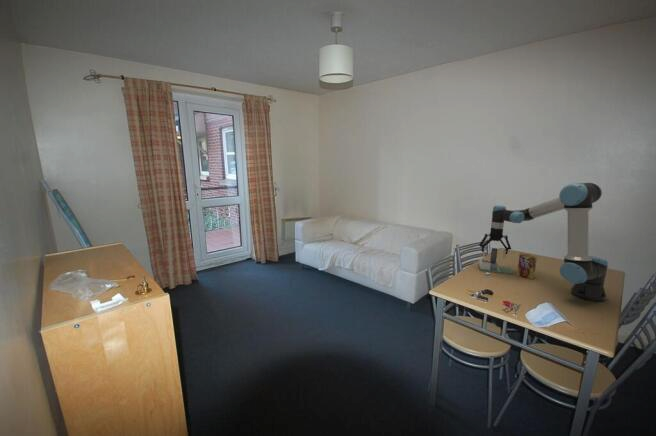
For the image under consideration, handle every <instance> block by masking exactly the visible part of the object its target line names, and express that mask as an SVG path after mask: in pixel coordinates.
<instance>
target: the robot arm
mask: <svg viewBox="0 0 656 436" xmlns="http://www.w3.org/2000/svg"><path fill="white" fill-rule="evenodd" d="M602 195H603V192H602V189H601V187H600V186H599V185H597V184H595V183H592V182H575V183H569V184H567V185H565V186H563V188H561V190H560V191H559V197H556V198H554V199H550V200H548V201H544V202H541V203H539V204H537V205H534V206H531V207H528V208H525V209H519V210H510V209H509V210H508V209H507V207H506V206H505V205H500V204H499V205H493V208H492V212H491V215H492V216H491V223H490V233H485V234H484V237H483V238H482V240H481V242H480V243H479V247H480V248H481V252H482V257H483V258H485V253H486V246H487V245H489V243H491V242H492V241H493V242H499V243H501V245H502V246H503V247H504V249H503V255H502V258H503V260H505V259H506V255H508V252H509V250H511V249H512V246H511V244H510V241H509V239H508V235H507V234H505V235H504V234H503V233H504V226H505V222H509V223H513V224H521V223H522V222H526V221H527V222H529V221H532V220H535V219H537V218H540V217H543V216H546V215H550V214H552V213H557V212H560V211H562V210H565V211H566V212H567V254H566V255H565V256H564V257H563V263H562V264H561V265H560V267H559V275H560V276H561V277H562V278H563V279H564V281H566V282H568V283H570V284H573V285H572V286H571V288H570V293H571V295H574V296H575V297H577V298H580V299H583V300H587V301H591V302H601V303H602V302H605V301H606V298H607V294H606V291H605V282H606V277H607V271H608V267H609V262H608V260H607V259H604V258H601V257H597V256H593V255H589V212H590V210H592V209H593V204H594V203H596V202H598V201H599V200H600V199H601V197H602ZM487 238H489V239H488V240H487ZM503 238H504V239H505V241H506V242H504V241H503V240H502V239H503ZM486 240H487V241H486ZM505 243H506V244H505Z"/></svg>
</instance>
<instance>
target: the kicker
mask: <svg viewBox="0 0 656 436" xmlns="http://www.w3.org/2000/svg"><path fill="white" fill-rule="evenodd" d="M498 250H499V249H498V248H497V247H491V251H490V260H489V261H488V263H490V264H491V265H490V269H497V267H498V266H499V264H498V263H497V256H498Z"/></svg>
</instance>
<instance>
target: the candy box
mask: <svg viewBox="0 0 656 436" xmlns="http://www.w3.org/2000/svg"><path fill="white" fill-rule="evenodd" d="M518 257H519V258H518V265H517V266H518V267H517V273H516V276H517V277H522V278H526V279H530V280H533V279H534V278H535V273H536V265H537V258H538V256H537V255H535V254H534V255H533V254H527V253H523V252H522V253H519V256H518Z"/></svg>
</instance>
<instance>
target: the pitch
mask: <svg viewBox="0 0 656 436" xmlns="http://www.w3.org/2000/svg"><path fill="white" fill-rule="evenodd" d="M488 261H490V260H489V259H487V258H479V259H478V263H477V267H478V269H479V271H480V272H487V273H494V274H502V275H504V274H505V275H512V276H513V275H514V272H513V271H512V270H511V268H510V267H509V266H502V265H498V267H497V269H490V265H491V264H490V263H488ZM484 262H487V263H484Z"/></svg>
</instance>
